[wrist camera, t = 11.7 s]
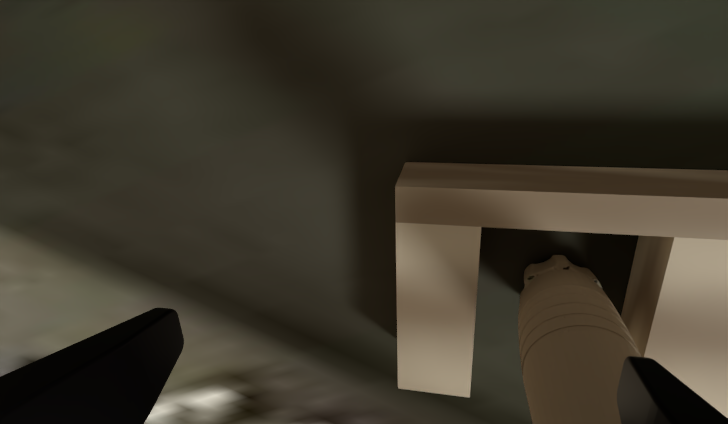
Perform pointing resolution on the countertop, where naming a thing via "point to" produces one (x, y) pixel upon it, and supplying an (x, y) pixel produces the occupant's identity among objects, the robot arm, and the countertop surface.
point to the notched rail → (566, 213)
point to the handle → (570, 345)
